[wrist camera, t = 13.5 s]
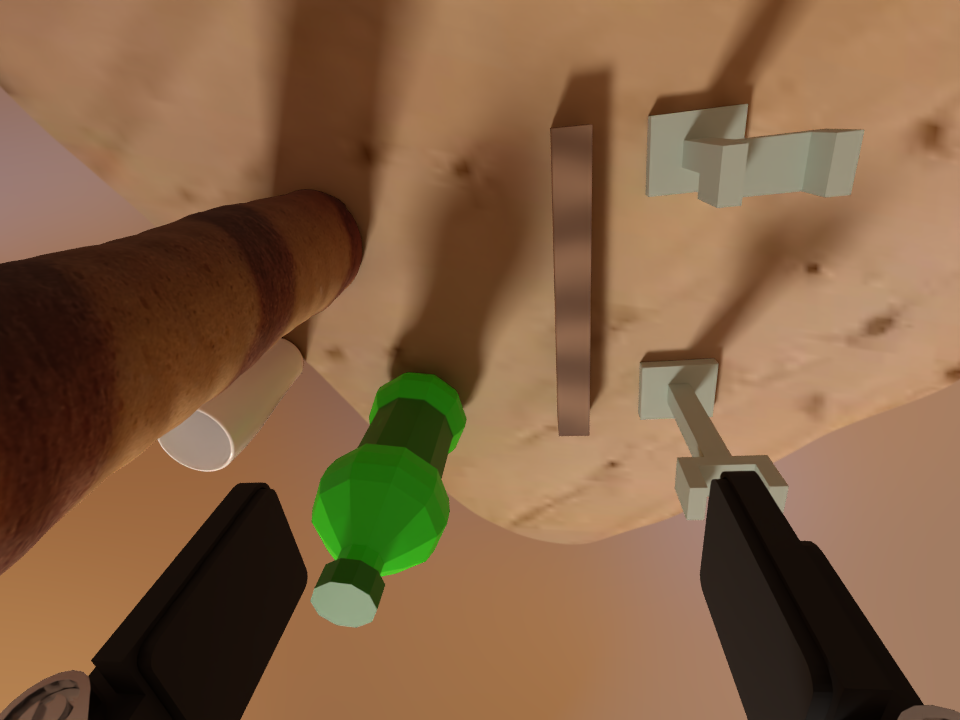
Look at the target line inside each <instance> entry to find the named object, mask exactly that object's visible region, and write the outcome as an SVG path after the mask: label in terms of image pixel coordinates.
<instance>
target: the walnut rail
mask: <svg viewBox="0 0 960 720" xmlns="http://www.w3.org/2000/svg"><path fill="white" fill-rule="evenodd" d="M550 132H551V172H552V212H553V253H554V293H555V333H556V374H557V414H558V429H559V436H589V421H590V321H591V221H592V125H590V124H586V125H576V126H566V127H556V128H550Z"/></svg>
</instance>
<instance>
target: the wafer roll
mask: <svg viewBox="0 0 960 720" xmlns="http://www.w3.org/2000/svg"><path fill="white" fill-rule="evenodd" d="M361 260H362V241H361V236H360V233H359V230H358V227H357V224H356V222H355V220H354V218H353V217H352V215H351V213H349V212H348V211H347V209H346V207H345V205H344V203H342V202H341V201H340V200H338V199H336V198H335V197H333V196H330V195H327V194H325V193H323V192H320V191H316V190H307V189H306V190H298V191H294V192H291V193H289V194H286V195H280V196H276V197H270V198H265V199H259V200H255V201H250V202H247V203H239V204H233V205H225V206H220V207H217V208H213V209H210V210H207V211H204V212H198V213H195V214H191V215H188V216H186V217H184V218H182V219H179V220H177V221H175V222H172V223H170V224H166V225H163V226H160V227H156V228H153V229H150V230H147V231H144V232H142V233H139V234H137V235H133V236H129V237H125V238H121V239H116V240H113V241H109V242H106V243H103V244H100V245H94V246H87V247H81V248H76V249H71V250H65V251H60V252H56V253H50V254H45V255H40V256H36V257H33V258H28V259H24V260H18V261H11V262H6V263H2V264H0V575H1V574H2V573H4V572H5V571H6V570H7V569H9V568H10V567H11V566H12V565H13V564H14V563H16V562H17V561H18V560H19V559H20V558H21V557H22V556H24V554H26V553H27V552H28V551H29V550H30V549H31V548H32V547H33V546H34V545H35V544H36V543H37V542H38V541H39V539H40V538H41V537H42V536H43V535H44V534H45V533H46V532H47V531H48V530H49V529H50V528H51V527H52V526H53V525H54V524H55V523H57V522H58V521H59V520H60V519H61V518H62V517H64V516H65V515H66V514H67V513H68V512H69V511H71V510H72V509H73V508H74V507H76V506H77V505H78V504H79V503H80V502H81V501H83V500H84V499H85V498H86V497H87V496H88V495H89V494H90V493H92V492H93V490H95V489H96V488H97V487H98V486H99V485H100V484H101V483H102V482H103V481H104V480H105V479H106V478H108V477H109V476H110V475H112V474H113V473H114V472H116V471H117V470H119V469H120V468H122V467H123V466H125V465H127V464H128V463H130V462H131V461H133V460H134V459H135V458H137V457H138V456H139V455H140V454H142V452H144V451H145V450H146V449H147V448H148V447H149V446H151V444H153V443H154V442H155V441H156V440H157V439H159V438H160V437H162V436H163V435H165V434H166V433H168V432H169V431H171V430H172V429H174V428H176V427H177V426H178V425H180V424H181V423H183V422H184V421H185V420H186V419H187V418H189V417H190V416H191V415H192V414H193V413H194V412H195V411H196V410H197V409H198V408H199V407H200V406H201V405H203V404H205V403H207V402H209V401H210V400H212V399H213V398H215V397H217V396H218V395H219V394H221V393H222V392H223V391H224V390H226V389H227V388H228V387H229V386H230V385H231V384H232V383H233V382H234V381H235V380H236V379H237V378H238V377H239V376H240V375H242V374H243V373H245V372H246V371H247V370H248V369H250V368H251V367H252V366H253V365H254V364H255V363H256V362H257V361H258V360H259V359H260V358H261V356H262V355H263V354H265V353H266V352H267V351H268V350H270V349H271V348H272V347H273V346H274V345H275V344H276V343H277V342H278V341H279V340H280V339H281V337H283V336H284V335H286V334H287V333H289V332H290V331H292V330H293V329H294V328H295V327H296V326H298V325H300V324H301V323H303V322H305V321H306V320H307V319H309V318H310V317H311V316H313V315H315V314H317V313H319V312H322V311H323V310H324V309H326V308H327V307H328V306H329V305H330V304H331V303H332V302H333V301H334V300H335V299H336V298H337V297H338V296H339V295H340V294H341V293H342V292H343V290H344V289H346V288H347V287H348V286H349V285H350V284H351V283H352V281H353V280H354V278H355V277H356V275H357V273H358V270H359V267H360V264H361Z"/></svg>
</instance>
